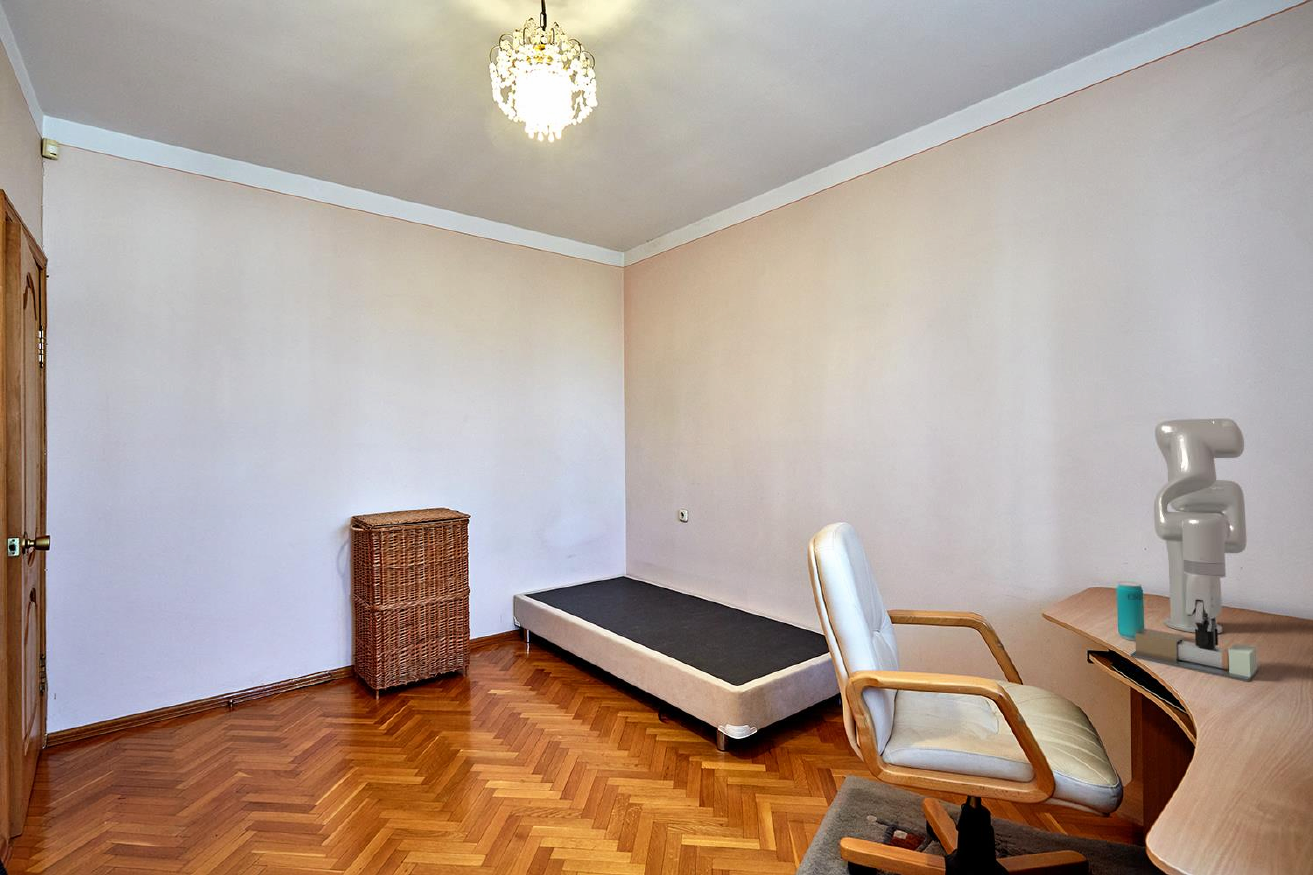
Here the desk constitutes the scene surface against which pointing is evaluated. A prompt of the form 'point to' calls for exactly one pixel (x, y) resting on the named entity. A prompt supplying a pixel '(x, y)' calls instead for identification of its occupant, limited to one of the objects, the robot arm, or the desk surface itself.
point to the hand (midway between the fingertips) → (1206, 644)
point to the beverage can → (1130, 609)
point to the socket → (1242, 660)
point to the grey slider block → (1203, 653)
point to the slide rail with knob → (1172, 653)
